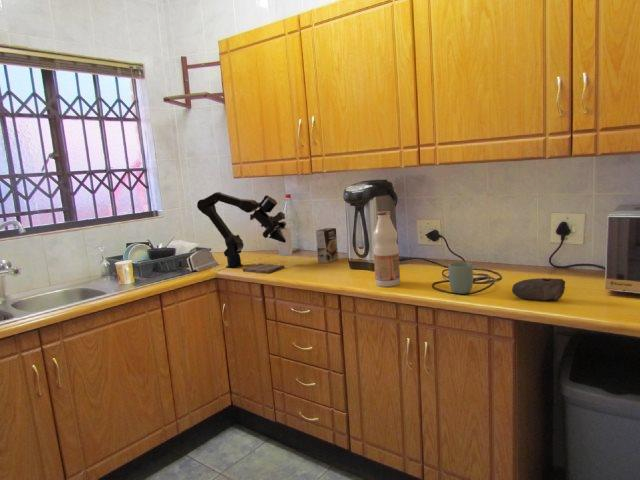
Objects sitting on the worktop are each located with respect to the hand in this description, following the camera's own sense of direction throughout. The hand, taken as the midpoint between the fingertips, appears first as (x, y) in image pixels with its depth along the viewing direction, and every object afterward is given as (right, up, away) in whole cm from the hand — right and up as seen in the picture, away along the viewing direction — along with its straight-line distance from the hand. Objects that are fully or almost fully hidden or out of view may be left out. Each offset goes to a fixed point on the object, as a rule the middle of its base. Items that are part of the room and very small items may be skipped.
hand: (287, 241), depth 218 cm
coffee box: (+20, -10, +6) cm, 23 cm away
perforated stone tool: (+84, -18, -78) cm, 116 cm away
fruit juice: (+42, -17, -46) cm, 64 cm away
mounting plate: (-11, -14, -2) cm, 18 cm away
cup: (+65, -18, -64) cm, 93 cm away
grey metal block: (-45, -14, +15) cm, 49 cm away
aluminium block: (-1, -7, +1) cm, 7 cm away
